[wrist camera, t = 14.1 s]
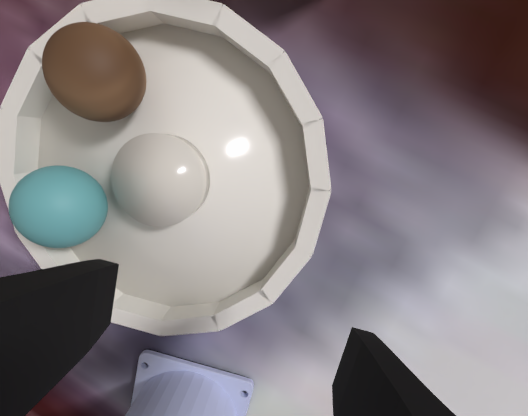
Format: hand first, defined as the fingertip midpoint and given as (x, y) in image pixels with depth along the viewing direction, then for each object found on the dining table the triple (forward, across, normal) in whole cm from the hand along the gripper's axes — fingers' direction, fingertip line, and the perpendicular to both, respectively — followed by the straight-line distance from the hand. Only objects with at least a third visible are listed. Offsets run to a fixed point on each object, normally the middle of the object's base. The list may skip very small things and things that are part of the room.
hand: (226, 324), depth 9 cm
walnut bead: (+9, +10, -6) cm, 14 cm away
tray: (+10, +6, -2) cm, 12 cm away
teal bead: (+9, +11, +1) cm, 14 cm away
